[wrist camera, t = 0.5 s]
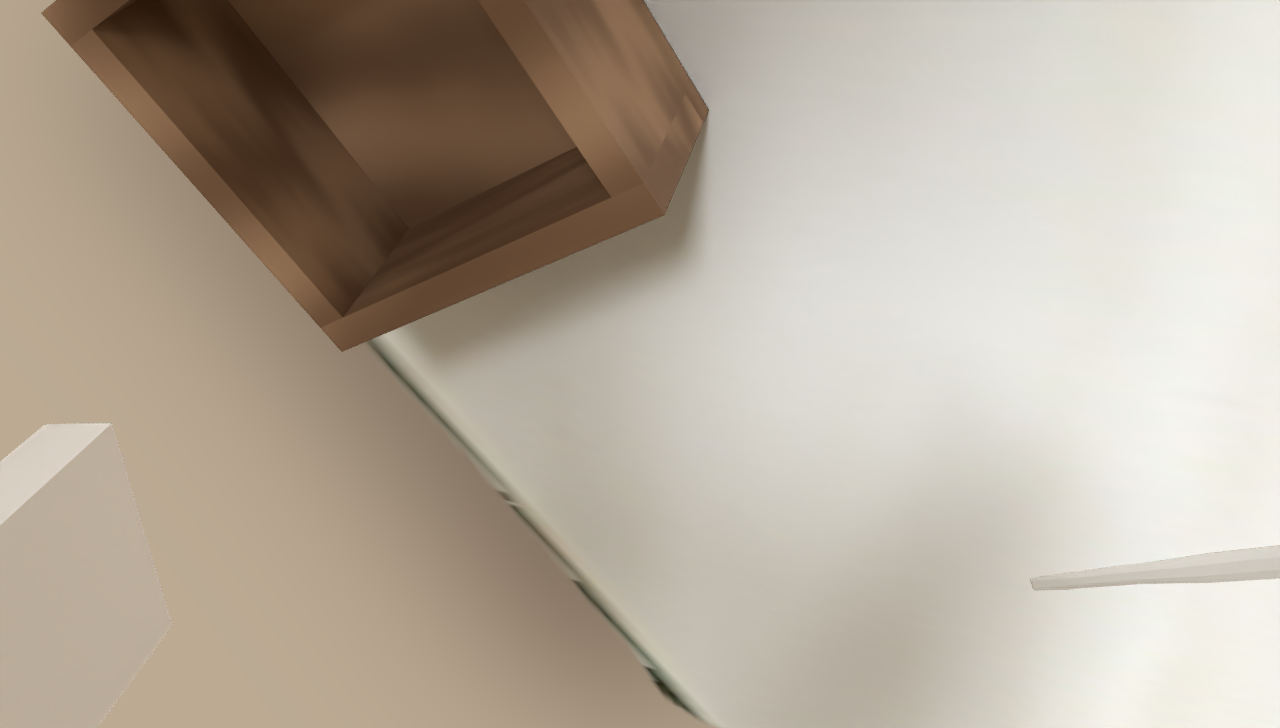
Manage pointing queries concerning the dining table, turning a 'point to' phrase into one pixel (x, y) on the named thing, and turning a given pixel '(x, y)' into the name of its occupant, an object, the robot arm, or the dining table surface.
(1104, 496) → the dining table surface
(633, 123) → the walnut box
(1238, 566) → the butter knife
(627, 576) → the dining table surface
